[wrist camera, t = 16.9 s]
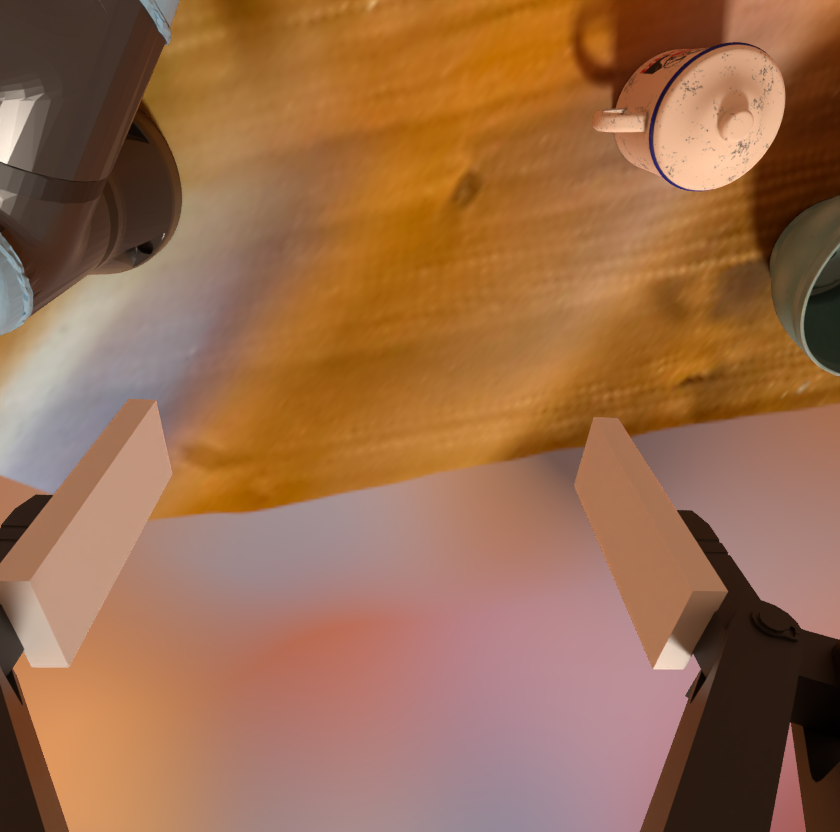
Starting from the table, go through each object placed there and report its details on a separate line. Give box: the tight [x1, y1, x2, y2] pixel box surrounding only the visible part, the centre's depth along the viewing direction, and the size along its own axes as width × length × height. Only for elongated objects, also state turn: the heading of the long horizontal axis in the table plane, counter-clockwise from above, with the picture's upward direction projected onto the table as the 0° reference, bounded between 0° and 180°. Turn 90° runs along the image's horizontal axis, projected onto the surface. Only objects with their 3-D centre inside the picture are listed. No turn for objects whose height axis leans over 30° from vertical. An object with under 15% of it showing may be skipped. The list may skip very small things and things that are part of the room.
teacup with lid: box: [592, 42, 785, 191], centre depth 40 cm, size 12×9×12 cm
